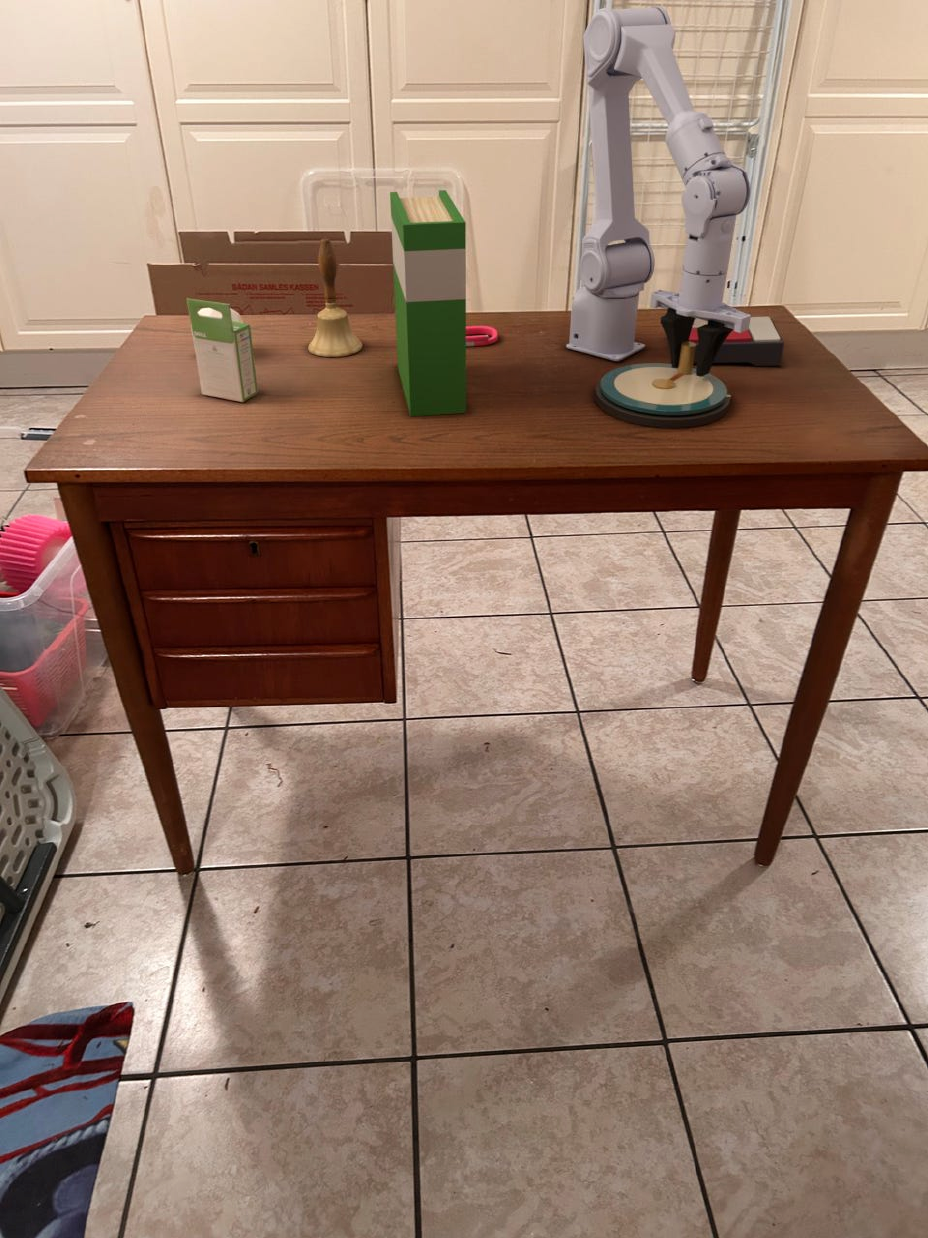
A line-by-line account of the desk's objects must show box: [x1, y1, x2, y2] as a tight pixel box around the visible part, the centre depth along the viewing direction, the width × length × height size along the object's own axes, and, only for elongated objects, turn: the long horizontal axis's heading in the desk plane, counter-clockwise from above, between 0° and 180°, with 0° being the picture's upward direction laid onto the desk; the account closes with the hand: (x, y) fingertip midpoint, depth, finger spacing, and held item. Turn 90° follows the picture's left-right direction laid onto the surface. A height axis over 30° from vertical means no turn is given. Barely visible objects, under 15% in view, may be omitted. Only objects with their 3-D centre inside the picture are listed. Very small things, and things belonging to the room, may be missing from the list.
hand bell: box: [307, 237, 364, 358], centre depth 142 cm, size 8×8×16 cm
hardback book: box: [389, 189, 467, 417], centre depth 127 cm, size 18×7×24 cm, turn 9°
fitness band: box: [466, 325, 499, 348], centre depth 149 cm, size 8×6×2 cm
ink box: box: [186, 297, 259, 403], centre depth 128 cm, size 7×4×13 cm, turn 65°
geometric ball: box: [198, 307, 244, 323], centre depth 142 cm, size 8×8×8 cm
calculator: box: [689, 316, 785, 367], centre depth 144 cm, size 11×4×15 cm
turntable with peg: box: [600, 342, 728, 415], centre depth 128 cm, size 17×17×5 cm
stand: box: [594, 380, 732, 429], centre depth 130 cm, size 18×18×1 cm
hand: (690, 370), depth 132 cm, fingers open, 3 cm apart
